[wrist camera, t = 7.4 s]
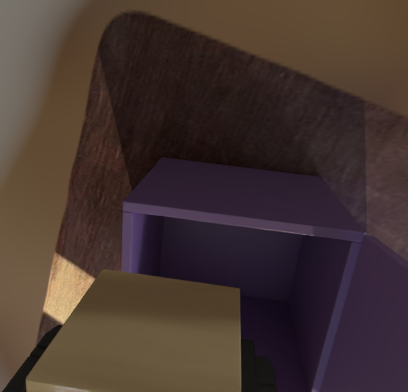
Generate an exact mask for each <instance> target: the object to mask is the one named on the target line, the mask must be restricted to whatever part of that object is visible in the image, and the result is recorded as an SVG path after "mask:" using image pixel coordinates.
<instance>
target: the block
mask: <svg viewBox="0 0 408 392" xmlns="http://www.w3.org/2000/svg"><path fill="white" fill-rule="evenodd" d="M26 392H241V323H240V289H239V288H234V287H227V286H220V285H213V284H206V283H199V282H192V281H185V280H178V279H171V278H164V277H157V276H150V275H143V274H136V273H129V272H122V271H115V270H109V269H102V271H101V272H100V274H99V275H98V276H97V278H96V279H95V281H94V282H93V284H92V285H91V286H90V288H89V289H88V291H87V292H86V293H85V295H84V296H83V298H82V299H81V301H80V302H79V303H78V305H77V306H76V308H75V309H74V311H73V312H72V313H71V315H70V316H69V318H68V319H67V320H66V322H65V323H64V325H63V326H62V328H61V329H60V330H59V332H58V333H57V335H56V336H55V337H54V339H53V340H52V342H51V343H50V345H49V346H48V347H47V349H46V350H45V352H44V353H43V355H42V356H41V357H40V359H39V360H38V362H37V363H36V364H35V366H34V367H33V369H32V370H31V372H30V373H29V374H28V376H27V377H26Z"/></svg>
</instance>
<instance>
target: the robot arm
mask: <svg viewBox="0 0 408 392" xmlns="http://www.w3.org/2000/svg"><path fill="white" fill-rule="evenodd" d="M61 328H62V325H58V326H56V327H55V328H53V329H52V330H50V331H49V332H47V333H46V334H45V335H44V336H43V338H42V339H41V340H40V342H39V343H38V344H37V347H35V348H34V350H33V351H32V352H31V354H30V356H29V357H28V358H27V359H26V360H25V362H24V363H23V365H22V366H21V367H20V368H19V370H18V371H17V372H16V374H15V375H14V377H13V378H12V379H11V380H10V382H9V383H8V385H7V386H6V387H5V389H4V390H3V391H2V392H26V377H27V376H28V374H29V373H30V372H31V370H32V369H33V367H34V366H35V364H36V363H37V362H38V360H39V359H40V357H41V356H42V355H43V353H44V352H45V350H46V349H47V347H48V346H49V345H50V343H51V342H52V340H53V339H54V337H55V336H56V335H57V333H58V332H59V330H60V329H61ZM241 392H277V386H276V378H275V370H274V368H273V366H272V365H271V363H270V361H269V360H268V358H267V357H261V356H255V350H254V340H252V339H245V338H241Z"/></svg>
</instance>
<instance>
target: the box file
mask: <svg viewBox="0 0 408 392" xmlns="http://www.w3.org/2000/svg"><path fill="white" fill-rule="evenodd" d="M363 236H365V231H364V230H363V229H362V228H361V226H360V225H359V224H358V223H357V221H356V220H355V219H354V218H353V216H352V215H351V214H350V213H349V211H348V210H347V209H346V208H345V206H344V205H343V204H342V203H341V201H340V200H339V199H338V198H337V196H336V195H335V194H334V192H333V191H332V190H331V189H330V187H329V186H328V185H327V184H326V182H325V181H324V180H323V179H322V177H319V176H310V175H302V174H294V173H286V172H278V171H270V170H262V169H253V168H245V167H237V166H229V165H221V164H213V163H205V162H196V161H188V160H180V159H172V158H164V157H162V158H161V159H160V160H159V161H158V162H157V163H156V165H155V166H154V167H153V168H152V169H151V170H150V171H149V173H148V174H147V175H146V176H145V177H144V178H143V179H142V180H141V182H140V183H139V184H138V185H137V186H136V187H135V188H134V189H133V191H132V192H131V193H130V194H129V195H128V196H127V197H126V199H125V200H124V201H123V219H122V254H121V271H122V272H129V273H136V274H143V275H150V276H157V277H164V278H171V279H178V280H185V281H192V282H199V283H206V284H213V285H220V286H227V287H234V288H239V289H240V323H241V338H245V339H252V340H254V350H255V356H261V357H267V358H268V360H269V361H270V363H271V365H272V366H273V368H274V370H275V378H276V386H277V392H320V388H321V385H322V381H323V377H324V374H325V370H326V367H327V363H328V360H329V356H330V353H331V349H332V346H333V342H334V338H335V335H336V331H337V328H338V324H339V321H340V317H341V314H342V310H343V307H344V303H345V299H346V296H347V292H348V289H349V285H350V282H351V278H352V275H353V271H354V267H355V264H356V260H357V257H358V253H359V250H360V246H361V243H362V239H363Z"/></svg>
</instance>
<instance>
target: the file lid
mask: <svg viewBox="0 0 408 392" xmlns="http://www.w3.org/2000/svg"><path fill="white" fill-rule="evenodd" d="M320 392H408V261H406V260H405V259H403V258H402V257H401V256H399V255H398V254H397V253H395V252H394V251H393V250H391V249H390V248H389V247H387V246H386V245H385V244H383V243H382V242H381V241H379V240H378V239H377V238H375V237H374V236H363V239H362V243H361V246H360V250H359V253H358V257H357V260H356V264H355V267H354V271H353V275H352V278H351V282H350V285H349V289H348V292H347V296H346V299H345V303H344V307H343V310H342V314H341V317H340V321H339V324H338V328H337V331H336V335H335V338H334V342H333V346H332V349H331V353H330V356H329V360H328V363H327V367H326V370H325V374H324V377H323V381H322V385H321V388H320Z"/></svg>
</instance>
